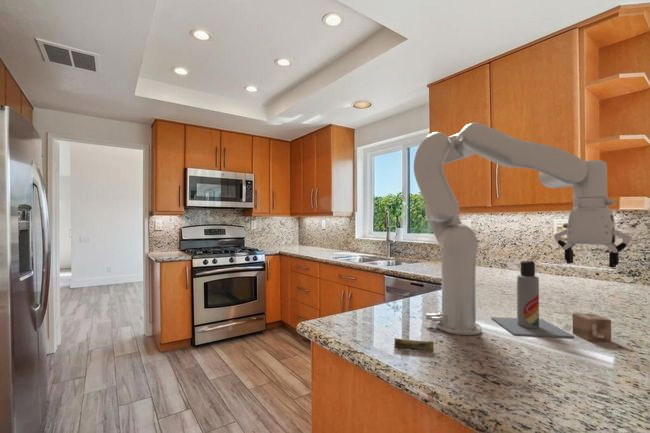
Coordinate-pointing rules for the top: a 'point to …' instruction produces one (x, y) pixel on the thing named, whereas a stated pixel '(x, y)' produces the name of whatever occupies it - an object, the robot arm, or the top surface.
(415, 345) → the snack bar
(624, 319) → the top surface
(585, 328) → the letter cube
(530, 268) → the lotion bottle
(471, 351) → the top surface
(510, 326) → the grey mat
